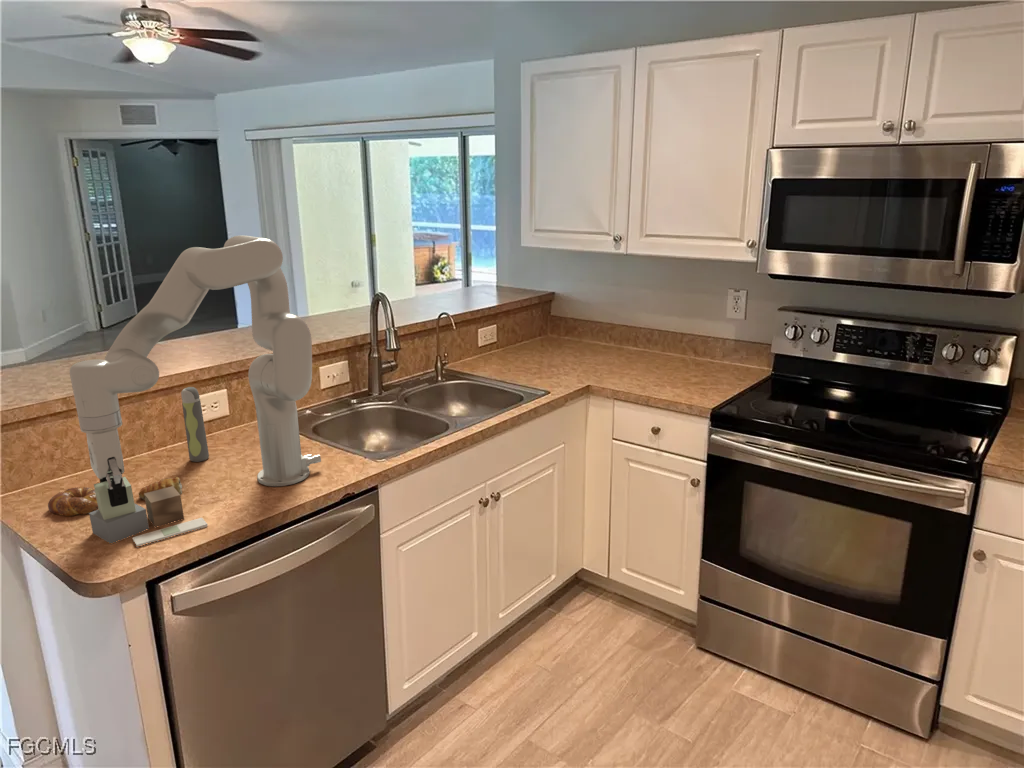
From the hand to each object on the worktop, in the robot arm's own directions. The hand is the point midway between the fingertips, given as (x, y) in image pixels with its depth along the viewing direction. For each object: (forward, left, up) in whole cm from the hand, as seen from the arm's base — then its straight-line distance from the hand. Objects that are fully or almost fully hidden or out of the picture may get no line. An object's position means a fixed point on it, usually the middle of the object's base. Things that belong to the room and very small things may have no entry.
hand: (114, 496), depth 149 cm
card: (-8, +8, -8) cm, 14 cm away
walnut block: (-9, 0, -8) cm, 12 cm away
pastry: (-12, -14, -8) cm, 20 cm away
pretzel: (+5, -19, -8) cm, 22 cm away
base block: (0, 0, -8) cm, 8 cm away
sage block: (0, 0, -3) cm, 3 cm away
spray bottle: (-25, -31, -8) cm, 41 cm away
